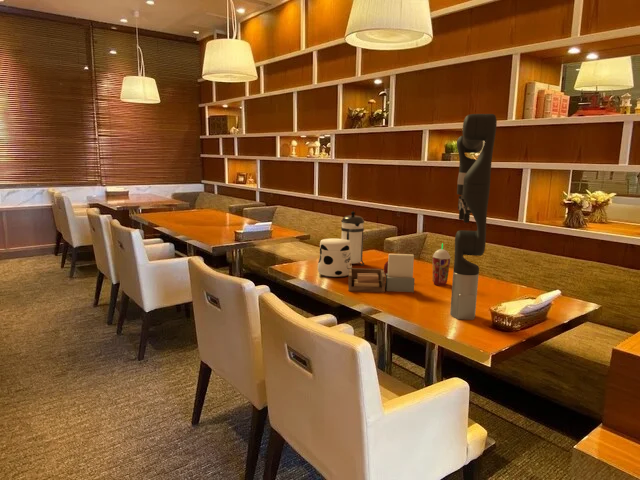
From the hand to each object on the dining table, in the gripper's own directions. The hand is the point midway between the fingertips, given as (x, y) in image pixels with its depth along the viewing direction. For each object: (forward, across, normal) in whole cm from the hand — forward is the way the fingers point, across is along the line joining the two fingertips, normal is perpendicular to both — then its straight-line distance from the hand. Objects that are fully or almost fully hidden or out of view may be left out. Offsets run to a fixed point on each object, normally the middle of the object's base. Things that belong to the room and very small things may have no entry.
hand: (463, 221), depth 196 cm
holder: (+33, +2, +26) cm, 42 cm away
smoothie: (+33, +16, +5) cm, 37 cm away
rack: (+33, +3, +41) cm, 53 cm away
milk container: (+33, +25, +56) cm, 70 cm away
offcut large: (+32, 0, +41) cm, 52 cm away
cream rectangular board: (+32, +2, +26) cm, 41 cm away
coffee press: (+33, +53, +48) cm, 79 cm away
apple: (+33, +20, +27) cm, 47 cm away
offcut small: (+29, +1, +40) cm, 50 cm away
